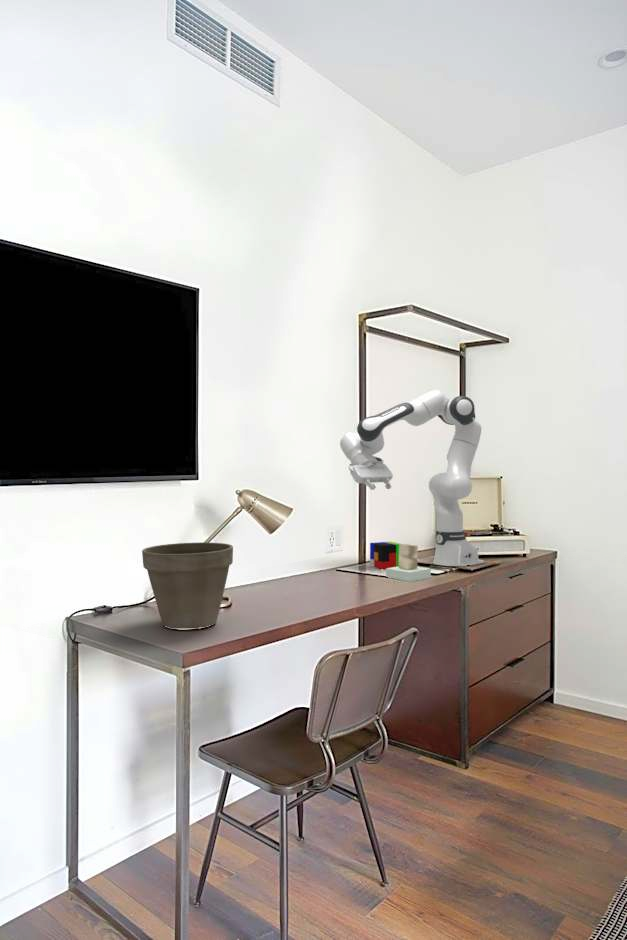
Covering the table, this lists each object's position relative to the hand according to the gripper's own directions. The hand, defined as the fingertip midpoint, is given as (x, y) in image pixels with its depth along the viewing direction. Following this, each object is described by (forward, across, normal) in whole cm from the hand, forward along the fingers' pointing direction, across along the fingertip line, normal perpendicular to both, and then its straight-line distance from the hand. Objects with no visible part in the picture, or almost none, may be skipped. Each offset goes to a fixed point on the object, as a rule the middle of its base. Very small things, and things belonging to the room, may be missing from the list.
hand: (381, 488), depth 279 cm
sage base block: (+37, -5, +11) cm, 39 cm away
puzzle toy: (+21, +7, +26) cm, 35 cm away
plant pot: (+42, -106, +6) cm, 114 cm away
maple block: (+34, -5, +8) cm, 36 cm away
